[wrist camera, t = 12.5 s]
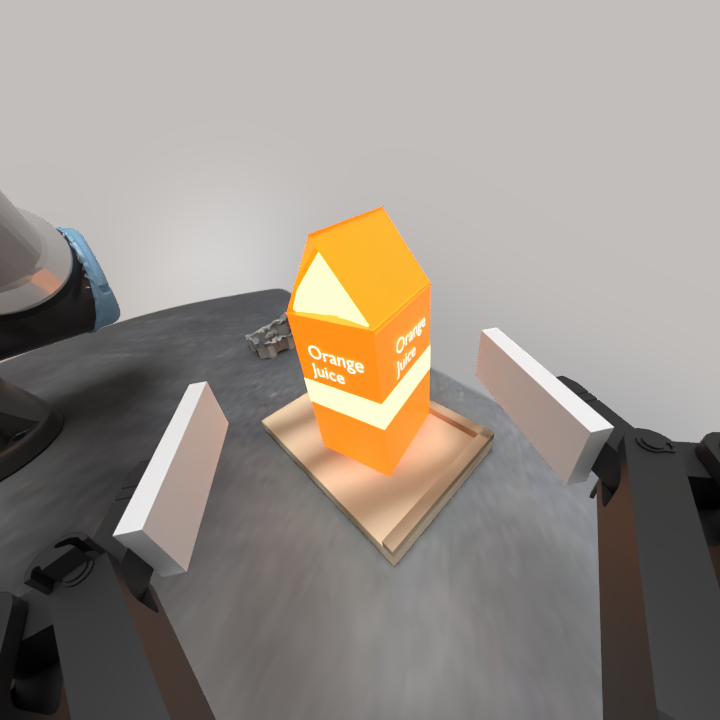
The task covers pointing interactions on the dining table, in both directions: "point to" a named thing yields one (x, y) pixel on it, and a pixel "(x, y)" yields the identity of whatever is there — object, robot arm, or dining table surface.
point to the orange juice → (363, 338)
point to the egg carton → (272, 338)
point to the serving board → (378, 491)
